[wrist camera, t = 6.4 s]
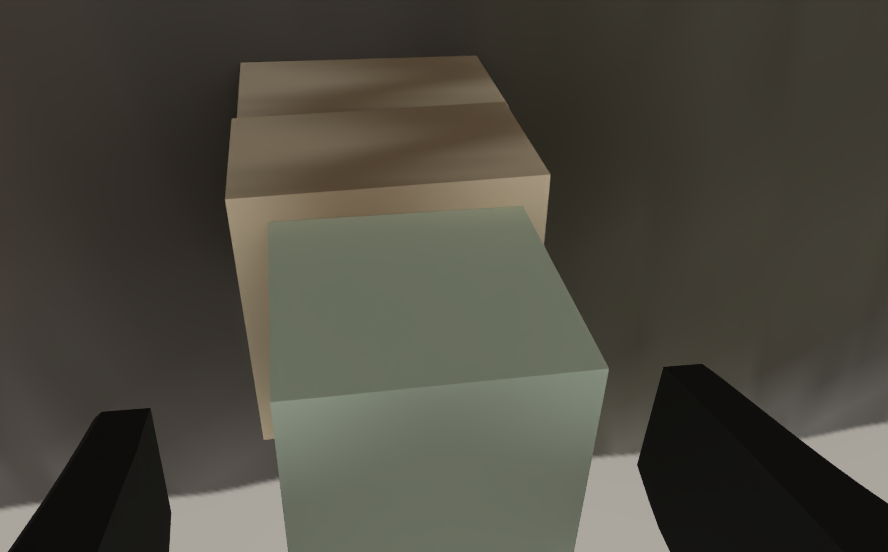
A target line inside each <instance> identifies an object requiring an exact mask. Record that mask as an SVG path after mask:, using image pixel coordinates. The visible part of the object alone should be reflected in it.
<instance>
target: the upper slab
mask: <svg viewBox="0 0 888 552" xmlns="http://www.w3.org/2000/svg"><path fill="white" fill-rule="evenodd" d="M550 175H551V174H550V173H549V171H548V170H547V168H546V167H545V165H544V163H543V162H542V160H541V159H540V157H539V155H538V154H537V152H536V151H535V149H534V147H533V146H532V144H531V143H530V141H529V139H528V138H527V136H526V135H525V133H524V132H523V130H522V128H521V127H520V125H519V124H518V122H517V120H516V119H515V117H514V116H513V114H512V112H511V111H510V109H509V108H508V106H507V105H506V103H505V102H492V103H475V104H459V105H443V106H427V107H410V108H394V109H378V110H361V111H345V112H329V113H312V114H296V115H280V116H263V117H247V118H232V120H231V132H230V144H229V156H228V169H227V181H226V193H225V202H226V209H227V215H228V221H229V227H230V234H231V240H232V246H233V252H234V258H235V265H236V271H237V277H238V283H239V289H240V296H241V302H242V308H243V314H244V320H245V327H246V333H247V339H248V345H249V351H250V358H251V364H252V370H253V376H254V382H255V389H256V395H257V401H258V407H259V413H260V420H261V426H262V432H263V438H264V440H266V439H275V438H274V430H273V421H272V413H271V405H270V326H269V222H277V221H293V220H309V219H325V218H341V217H356V216H372V215H388V214H404V213H420V212H435V211H451V210H467V209H483V208H499V207H514V206H523V207H524V209H525V211H526V213H527V215H528V216H529V218H530V220H531V222H532V224H533V226H534V228H535V230H536V232H537V233H538V235H539V237H540V239H541V241H542V243H543V245H544V239H545V228H546V218H547V207H548V197H549V186H550Z"/></svg>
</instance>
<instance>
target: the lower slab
mask: <svg viewBox="0 0 888 552" xmlns="http://www.w3.org/2000/svg"><path fill="white" fill-rule="evenodd" d="M492 102H505V103H506V101H505V100H504V98H503V96H502V95H501V93H500V92H499V90H498V89H497V87H496V85H495V84H494V82H493V81H492V79H491V77H490V76H489V74H488V73H487V71H486V70H485V68H484V66H483V65H482V63H481V62H480V60H479V58H478V57H477V56H445V57H412V58H379V59H346V60H313V61H280V62H247V63H241V65H240V80H239V94H238V109H237V118H247V117H263V116H280V115H296V114H312V113H329V112H345V111H361V110H378V109H394V108H410V107H427V106H443V105H459V104H475V103H492ZM506 105H507V106H508V104H507V103H506ZM508 108H509V106H508Z"/></svg>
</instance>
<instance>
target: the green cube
mask: <svg viewBox="0 0 888 552" xmlns="http://www.w3.org/2000/svg"><path fill="white" fill-rule="evenodd" d="M269 326H270V405H271V413H272V421H273V430H274V438H275V446H276V454H277V463H278V471H279V479H280V488H281V496H282V504H283V512H284V521H285V529H286V536H287V546H288V552H574V548H575V543H576V537H577V532H578V527H579V521H580V517H581V512H582V506H583V501H584V496H585V491H586V486H587V480H588V475H589V469H590V465H591V460H592V455H593V449H594V444H595V439H596V434H597V429H598V423H599V418H600V413H601V408H602V403H603V397H604V392H605V387H606V382H607V377H608V371H609V368H608V366H607V364H606V362H605V360H604V358H603V356H602V354H601V353H600V351H599V349H598V347H597V345H596V343H595V341H594V339H593V337H592V335H591V334H590V332H589V330H588V328H587V326H586V324H585V322H584V320H583V318H582V317H581V315H580V313H579V311H578V309H577V307H576V305H575V303H574V301H573V300H572V298H571V296H570V294H569V292H568V290H567V288H566V286H565V284H564V283H563V281H562V279H561V277H560V275H559V273H558V271H557V269H556V267H555V266H554V264H553V262H552V260H551V258H550V256H549V254H548V252H547V250H546V249H545V247H544V245H543V243H542V241H541V239H540V237H539V235H538V233H537V232H536V230H535V228H534V226H533V224H532V222H531V220H530V218H529V216H528V215H527V213H526V211H525V209H524V207H523V206H514V207H499V208H483V209H467V210H451V211H435V212H420V213H404V214H388V215H372V216H356V217H341V218H325V219H309V220H293V221H277V222H269Z"/></svg>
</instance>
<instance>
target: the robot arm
mask: <svg viewBox="0 0 888 552" xmlns="http://www.w3.org/2000/svg"><path fill="white" fill-rule="evenodd" d="M637 466H638V469H639V472H640V475H641V478H642V481H643V484H644V487H645V490H646V493H647V496H648V499H649V502H650V505H651V508H652V510H653V513H654V516H655V518H656V521H657V524H658V527H659V529H660V531H661V534H662V535H663V538H664V540H665V542H666V544H667V546H668V548H669V550H670V552H888V503H886V502H885V501H883V500H882V499H880V498H879V497H878V496H876V495H875V494H873V493H872V492H870V491H869V490H868V489H866V488H865V487H863V486H862V485H860V484H859V483H857V482H856V481H855V480H853V479H852V478H851V477H849V476H848V475H847V474H845V473H844V472H842V471H841V470H839V469H838V468H837V467H836V466H834V465H833V464H831V463H830V462H829V461H827V460H826V459H825V458H823V457H822V456H821V455H819V454H818V453H817V452H816V451H814V450H813V449H812V448H810V447H809V446H808V445H806V444H805V443H804V442H802V441H801V440H800V439H799V438H797V437H796V436H795V435H793V434H792V433H791V432H790V431H788V430H787V429H786V428H784V427H783V426H782V425H781V424H779V423H778V422H777V421H775V420H774V419H773V418H772V417H770V416H769V415H768V414H767V413H765V412H764V411H763V410H761V409H760V408H759V407H758V406H756V405H755V404H754V403H753V402H751V401H750V400H749V399H748V398H746V397H745V396H744V395H742V394H741V393H740V392H739V391H737V390H736V389H735V388H734V387H732V386H731V385H730V384H728V383H727V382H726V381H725V380H723V379H722V378H721V377H719V376H718V375H717V374H715V373H714V372H713V371H711V370H710V369H708V368H707V367H706V366H704V365H703V364H695V365H682V366H670V367H663V371H662V375H661V378H660V382H659V386H658V390H657V393H656V397H655V401H654V404H653V408H652V412H651V415H650V419H649V423H648V427H647V430H646V434H645V438H644V441H643V445H642V449H641V453H640V456H639V460H638V464H637ZM170 522H171V510H170V505H169V499H168V494H167V489H166V484H165V479H164V474H163V469H162V464H161V459H160V454H159V449H158V444H157V439H156V434H155V429H154V424H153V419H152V414H151V409H150V408H145V409H132V410H120V411H107V412H101V413H100V414H99V415H98V416H97V417H96V418H95V419H94V420H93V422H92V423H91V425H90V427H89V428H88V430H87V432H86V434H85V435H84V437H83V439H82V440H81V442H80V444H79V445H78V447H77V449H76V450H75V452H74V454H73V455H72V457H71V458H70V460H69V462H68V463H67V465H66V466H65V468H64V470H63V471H62V473H61V474H60V476H59V477H58V479H57V481H56V482H55V484H54V485H53V487H52V488H51V490H50V491H49V493H48V494H47V496H46V497H45V499H44V500H43V502H42V503H41V505H40V506H39V508H38V509H37V511H36V512H35V513H34V515H33V516H32V518H31V519H30V521H29V522H28V524H27V525H26V526H25V528H24V529H23V531H22V532H21V534H20V535H19V537H18V538H17V540H16V541H15V542H14V544H13V545H12V547H11V548H10V549H9V551H8V552H169V543H170V525H171V523H170Z"/></svg>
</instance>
